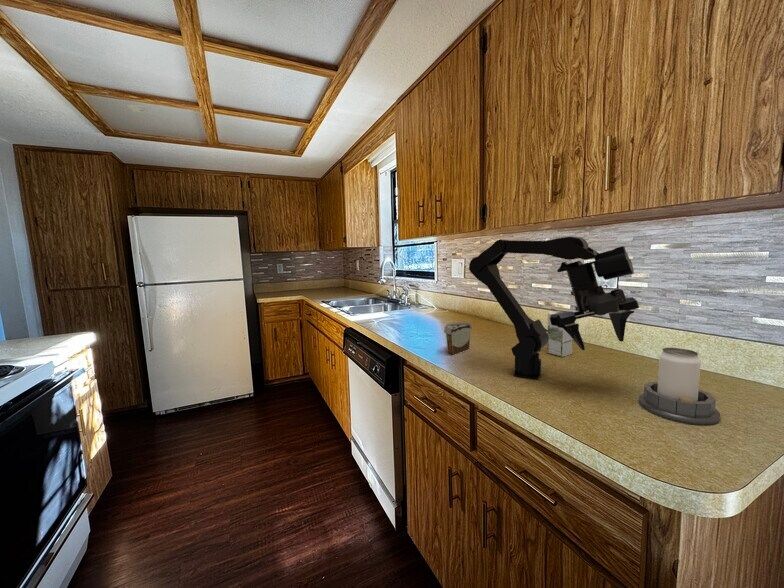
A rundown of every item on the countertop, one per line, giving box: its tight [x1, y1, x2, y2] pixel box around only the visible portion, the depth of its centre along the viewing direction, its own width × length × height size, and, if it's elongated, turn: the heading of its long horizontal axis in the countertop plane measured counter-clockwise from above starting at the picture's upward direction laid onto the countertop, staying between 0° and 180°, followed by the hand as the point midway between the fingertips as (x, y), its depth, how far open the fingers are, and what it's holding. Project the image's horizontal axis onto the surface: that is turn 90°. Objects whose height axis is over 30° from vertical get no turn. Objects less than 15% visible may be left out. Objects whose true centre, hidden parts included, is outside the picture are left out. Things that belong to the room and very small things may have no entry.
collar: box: [638, 381, 721, 426], centre depth 67 cm, size 13×13×5 cm
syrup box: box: [546, 310, 573, 358], centre depth 107 cm, size 6×6×14 cm
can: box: [657, 347, 701, 402], centre depth 67 cm, size 6×6×12 cm
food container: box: [443, 322, 473, 356], centre depth 115 cm, size 12×6×10 cm, turn 130°
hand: (602, 345), depth 77 cm, fingers open, 9 cm apart
